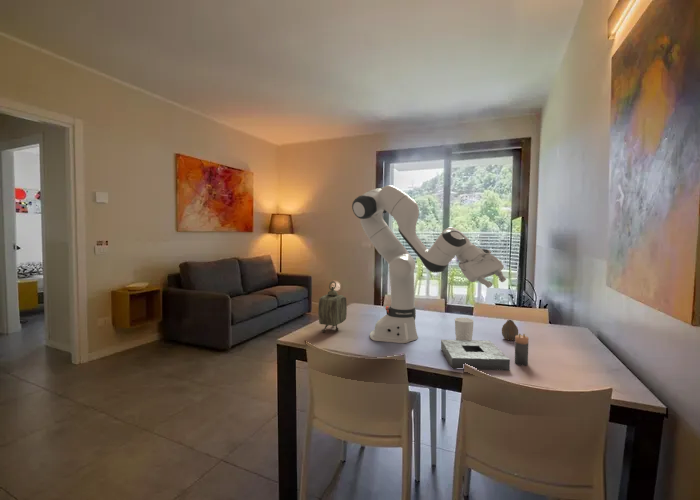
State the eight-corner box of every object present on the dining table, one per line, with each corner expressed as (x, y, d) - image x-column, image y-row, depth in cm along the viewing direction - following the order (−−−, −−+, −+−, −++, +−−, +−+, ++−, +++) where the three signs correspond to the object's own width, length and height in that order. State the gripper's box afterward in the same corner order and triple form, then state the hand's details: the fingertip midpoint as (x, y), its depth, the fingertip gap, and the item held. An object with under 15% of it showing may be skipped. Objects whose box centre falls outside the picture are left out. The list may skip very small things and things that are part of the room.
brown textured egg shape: (520, 342, 144) (520, 322, 144) (503, 341, 145) (504, 322, 145) (515, 337, 151) (516, 318, 150) (499, 336, 152) (500, 318, 152)
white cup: (472, 339, 147) (473, 318, 147) (473, 345, 140) (473, 323, 139) (454, 338, 150) (455, 317, 149) (454, 343, 142) (454, 321, 142)
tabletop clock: (332, 325, 171) (331, 279, 170) (347, 327, 168) (347, 280, 166) (318, 333, 158) (318, 282, 157) (334, 335, 154) (334, 284, 153)
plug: (517, 365, 119) (518, 335, 118) (512, 360, 123) (513, 331, 123) (530, 365, 118) (530, 335, 118) (524, 361, 123) (525, 332, 122)
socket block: (452, 368, 116) (452, 358, 116) (441, 349, 136) (441, 339, 136) (509, 370, 114) (509, 359, 114) (489, 350, 134) (490, 340, 134)
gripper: (460, 257, 123) (486, 284, 116) (490, 248, 134) (516, 272, 127) (452, 268, 127) (476, 295, 120) (482, 259, 138) (506, 283, 131)
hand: (497, 283), depth 123 cm, fingers open, 8 cm apart
